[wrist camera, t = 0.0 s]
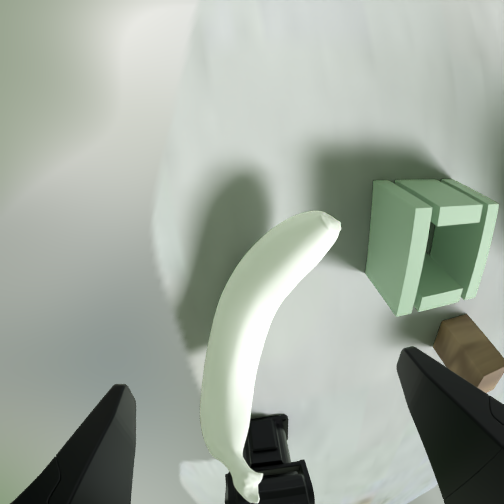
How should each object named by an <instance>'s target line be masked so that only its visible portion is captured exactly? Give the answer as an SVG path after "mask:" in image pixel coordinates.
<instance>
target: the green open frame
mask: <svg viewBox="0 0 504 504" xmlns="http://www.w3.org/2000/svg"><path fill="white" fill-rule="evenodd" d="M498 208H499V204H498V203H497V202H495V201H493V200H491V199H490V198H488V197H486V196H484V195H482V194H480V193H478V192H477V191H475V190H473V189H471V188H469V187H467V186H465V185H463V184H461V183H459V182H457V181H455V180H453V179H441V182H440V181H438V180H436V179H410V180H395V184H394V183H392V182H390V181H389V180H375V181H373V193H372V208H371V222H370V233H369V244H368V254H367V262H366V271H365V274H366V275H367V276H368V278H369V279H370V281H371V282H372V283H373V285H374V286H375V287H376V289H377V290H378V292H379V293H380V294H381V296H382V297H383V299H384V300H385V302H386V303H387V304H388V306H389V307H390V309H391V310H392V312H393V313H394V314H395V316H396V317H398V316H403V315H407V314H411V313H412V309H413V306H414V307H415V308H416V309H417V311H418V312H420V311H425V310H429V309H433V308H437V307H441V306H445V305H449V304H453V303H457V302H459V300H460V297H462V298H463V299H464V300H468V299H471V298H475V296H476V293H477V290H478V287H479V284H480V281H481V278H482V274H483V271H484V267H485V264H486V260H487V257H488V253H489V249H490V245H491V241H492V237H493V232H494V228H495V223H496V218H497V213H498ZM430 222H432V223H433V224H435V230H434V236H433V241H432V247H431V252H430V256H429V255H428V254H427V253H426V252H425V251H426V246H427V240H428V234H429V228H430Z"/></svg>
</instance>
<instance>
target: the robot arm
mask: <svg viewBox="0 0 504 504" xmlns="http://www.w3.org/2000/svg"><path fill="white" fill-rule="evenodd" d="M397 372H398V376H399V379H400V382H401V385H402V388H403V392H404V395H405V399H406V402H407V405H408V408H409V410H410V413H411V415H412V418H413V420H414V423H415V425H416V427H417V430H418V432H419V435H420V437H421V440H422V442H423V445H424V448H425V450H426V453H427V455H428V458H429V461H430V463H431V466H432V469H433V471H434V474H435V477H436V480H437V482H438V485H439V488H440V491H441V494H442V497H443V499H444V503H445V504H504V404H502V403H501V402H499V401H497V400H496V399H494V398H493V397H491V396H488V394H487V393H485V392H484V391H482V390H480V389H479V388H477V387H476V386H474V385H473V384H471V383H470V382H468V381H467V380H465V379H464V378H462V377H461V376H459V375H457V374H456V373H454V372H453V371H451V370H450V369H448V368H447V367H445V366H444V365H442V364H441V363H439V362H437V361H436V360H434V359H433V358H431V357H430V356H428V355H427V354H425V353H424V352H422V351H420V350H419V349H417V348H416V347H413V346H411V347H407V348H404V349H403V350H402V351H401V354H400V357H399V360H398V363H397ZM287 440H288V417H287V416H286V415H282V416H275V417H268V418H260V419H251V420H250V423H249V429H248V433H247V437H246V441H245V444H244V448H243V458H244V460H245V461H246V463H247V464H248V466H249V467H250V468H251V469H252V470H253V471H255V472H257V473H263V477H262V480H261V482H260V483H259V484H258V494H259V498H260V500H259V503H250V502H248V501H247V500H246V499H244V498H243V497H242V495H241V494H240V493H239V492H238V491H237V490H236V488H235V486H234V484H233V479H232V475H231V473H230V471H229V473H228V474H226V475H225V477H226V493H225V504H315V499H314V492H313V487H312V483H311V480H310V477H309V473H308V470H307V467H306V463H305V460H300V461H296V462H291V460H290V455H289V450H288V445H287ZM135 447H136V401H135V398H134V396H133V395H132V393H131V391H130V389H129V388H128V386H127V385H126V384H115V385H114V386H113V387H112V388H111V389H110V390H109V391H108V393H107V394H106V395H105V396H104V397H103V398H102V400H101V401H100V402H99V403H98V405H97V406H96V407H95V408H94V409H93V411H92V412H91V413H90V414H89V415H88V417H87V418H86V419H85V420H84V422H83V423H82V424H81V426H79V428H78V429H77V430H76V431H75V433H74V434H73V435H72V436H71V437H70V439H69V440H68V441H67V442H66V444H65V445H64V446H63V447H62V449H61V450H60V451H59V452H58V454H57V455H56V457H54V459H53V460H52V461H51V462H50V463H49V465H48V466H47V467H46V468H45V469H44V470H43V472H42V473H41V474H40V475H39V476H38V477H37V478H36V479H35V480H34V481H33V482H32V483H31V484H30V485H29V486H28V487H27V488H26V489H25V490H24V491H23V492H22V493H21V494H20V495H19V496H18V497H17V498H16V499H15V500H14V501H13V502H12V503H10V504H131V490H132V478H133V467H134V457H135Z"/></svg>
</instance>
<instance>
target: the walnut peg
mask: <svg viewBox="0 0 504 504" xmlns="http://www.w3.org/2000/svg"><path fill="white" fill-rule="evenodd" d="M433 348H434V349H435V351H436V352H437V354H438V355H439V357H440V358H441V360H442V361H443V363H444V364H445V366H446V367H447V368H448V369H450V370H451V371H453V372H454V373H456V374H457V375H459V376H461V377H462V378H464V379H465V380H467V381H468V382H470V383H471V384H473V385H474V386H476V387H477V388H479V389H480V390H482V391H484V392H485V393H487V392H489V391H491V390H493V389H494V388H495V386H496V384H497V383H498V381H499V380H500V378H501V376H502V375H503V373H504V358H503V357H502V355H501V354H500V353H499V352H498V350H497V349H496V348H495V347H494V345H493V344H492V343H491V342H490V341H489V339H488V338H487V337H486V336H485V335H484V333H483V332H482V331H481V330H480V329H479V328H478V326H477V325H476V324H475V323H474V322H473V321H472V319H471V318H470V317H469V316H468V315H467V314H465V315H461V316H458V317H455V318H451V319H448V320H444V321H442V322H441V325H440V328H439V331H438V334H437V337H436V339H435V342H434V345H433Z"/></svg>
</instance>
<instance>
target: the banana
mask: <svg viewBox="0 0 504 504" xmlns="http://www.w3.org/2000/svg"><path fill="white" fill-rule="evenodd" d="M340 230H341V222H340V221H338V220H336V219H335V218H334V217H332V216H331V215H329V214H327V213H325V212H322V211H309V212H304V213H301V214H298V215H295V216H293V217H291V218H288V219H287V220H285V221H283V222H281V223H280V224H278V225H277V226H275V227H274V228H273V229H271V230H270V231H269V232H268V233H266V234H265V235H264V236H263V237H262V238H261V239H260V240H259V241H258V242H256V244H255V245H254V246H253V247H252V248H251V249H250V250H249V251H248V252H247V253H246V254H245V256H244V257H243V258H242V260H241V261H240V262H239V264H238V265H237V267H236V268H235V270H234V271H233V273H232V275H231V277H230V278H229V280H228V282H227V284H226V286H225V288H224V290H223V292H222V294H221V297H220V300H219V302H218V306H217V309H216V312H215V315H214V319H213V324H212V328H211V332H210V337H209V342H208V347H207V352H206V358H205V365H204V372H203V381H202V389H201V400H200V423H201V430H202V434H203V438H204V441H205V443H206V446H207V448H208V450H209V452H210V453H211V455H212V456H213V457H214V458H215V459H217V460H219V461H220V462H222V463H223V464H224V465H225V466H226V467H227V468H228V470H229V471H230V473H231V475H232V479H233V484H234V486H235V488H236V490H237V491H238V492H239V493H240V494H241V495H242V497H243V498H244V499H246V500H247V501H248V502H250V503H259V500H260V498H259V494H258V484H259V483H260V482H261V480H262V477H263V473H257V472H255V471H253V470H252V469H251V468H250V467H249V466H248V464H247V463H246V461H245V460H244V458H243V448H244V444H245V441H246V437H247V433H248V429H249V423H250V416H251V406H252V399H253V392H254V385H255V379H256V373H257V368H258V364H259V360H260V357H261V353H262V350H263V346H264V342H265V339H266V336H267V333H268V330H269V327H270V324H271V322H272V320H273V317H274V315H275V313H276V311H277V309H278V308H279V306H280V305H281V303H282V302H283V300H284V299H285V297H286V296H287V295H288V294H289V293H290V292H291V291H292V290H293V289H294V287H295V286H296V285H297V284H298V283H299V282H300V281H301V280H302V279H303V278H304V277H305V276H306V275H307V274H308V273H309V272H310V271H311V270H312V269H313V268H314V267H315V266H316V265H317V264H318V263H319V262H320V260H321V259H322V258H323V257H324V256H325V254H326V253H327V252H328V251H329V249H330V248H331V247H332V245H333V244H334V243H335V241H336V239H337V238H338V235H339V232H340Z"/></svg>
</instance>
